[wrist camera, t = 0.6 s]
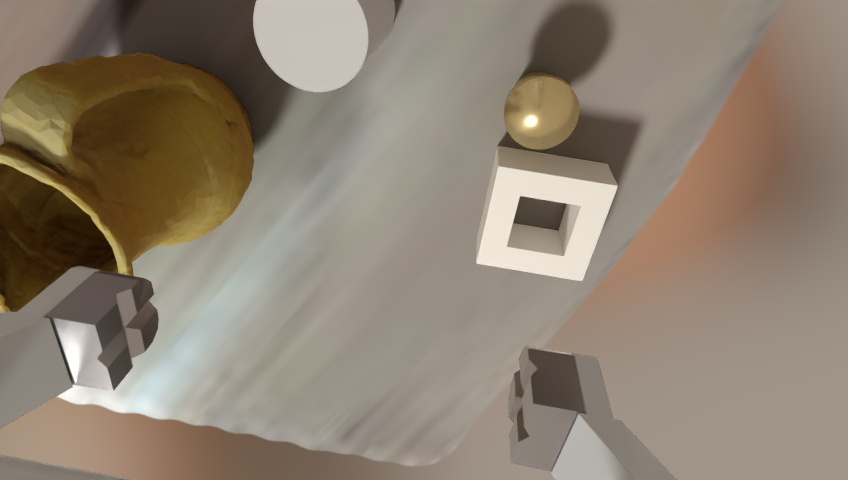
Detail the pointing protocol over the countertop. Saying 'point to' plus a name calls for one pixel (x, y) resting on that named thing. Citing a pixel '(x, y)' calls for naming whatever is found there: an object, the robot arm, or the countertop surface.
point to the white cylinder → (320, 38)
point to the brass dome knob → (541, 111)
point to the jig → (554, 181)
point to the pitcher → (113, 166)
